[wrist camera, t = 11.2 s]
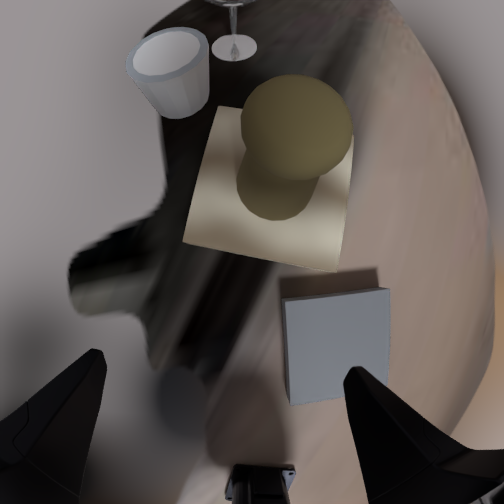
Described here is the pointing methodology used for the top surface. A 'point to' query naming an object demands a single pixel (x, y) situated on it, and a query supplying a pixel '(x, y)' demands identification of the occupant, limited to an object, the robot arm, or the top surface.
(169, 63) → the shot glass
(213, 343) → the top surface
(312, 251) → the maple slab
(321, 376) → the blue grey block
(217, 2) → the wineglass
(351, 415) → the robot arm
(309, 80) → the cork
